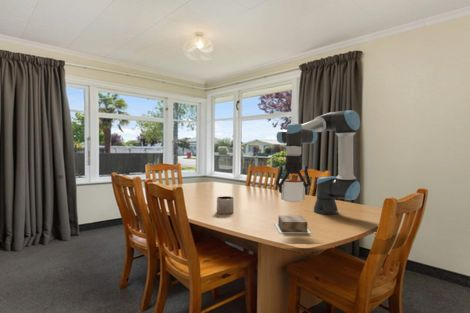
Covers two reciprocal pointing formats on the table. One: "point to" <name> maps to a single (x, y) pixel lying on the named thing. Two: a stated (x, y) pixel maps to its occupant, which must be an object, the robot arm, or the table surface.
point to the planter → (225, 205)
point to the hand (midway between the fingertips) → (292, 199)
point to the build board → (291, 232)
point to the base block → (292, 224)
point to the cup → (293, 191)
